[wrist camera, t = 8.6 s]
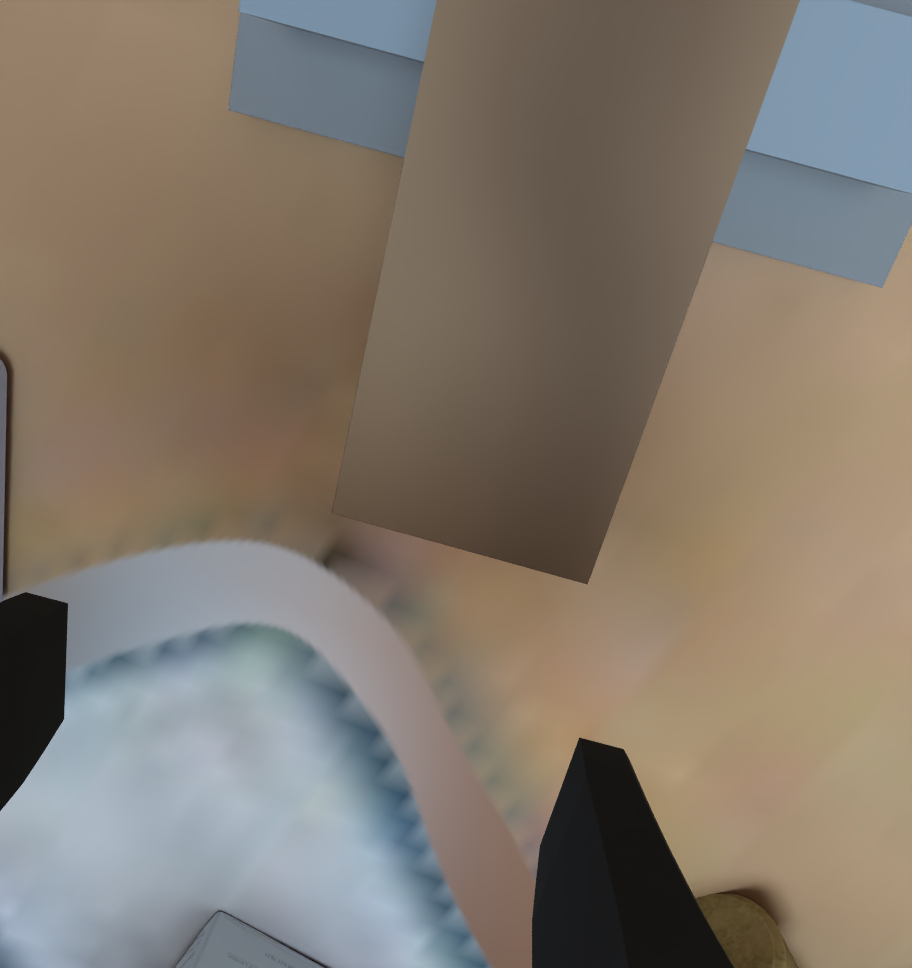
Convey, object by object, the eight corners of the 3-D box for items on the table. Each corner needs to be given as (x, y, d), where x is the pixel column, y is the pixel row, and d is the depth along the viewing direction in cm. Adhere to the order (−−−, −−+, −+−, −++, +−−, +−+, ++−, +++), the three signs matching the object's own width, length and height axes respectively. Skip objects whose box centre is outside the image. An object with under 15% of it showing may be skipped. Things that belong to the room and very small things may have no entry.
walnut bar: (389, 416, 17) (331, 513, 13) (608, -559, 11) (631, -950, 7) (582, 470, 17) (587, 583, 13) (905, -482, 11) (1102, -832, 7)
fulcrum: (241, 109, 18) (171, 109, 15) (284, -230, 16) (211, -320, 13) (869, 281, 18) (936, 317, 15) (1012, -36, 16) (1128, -76, 12)
